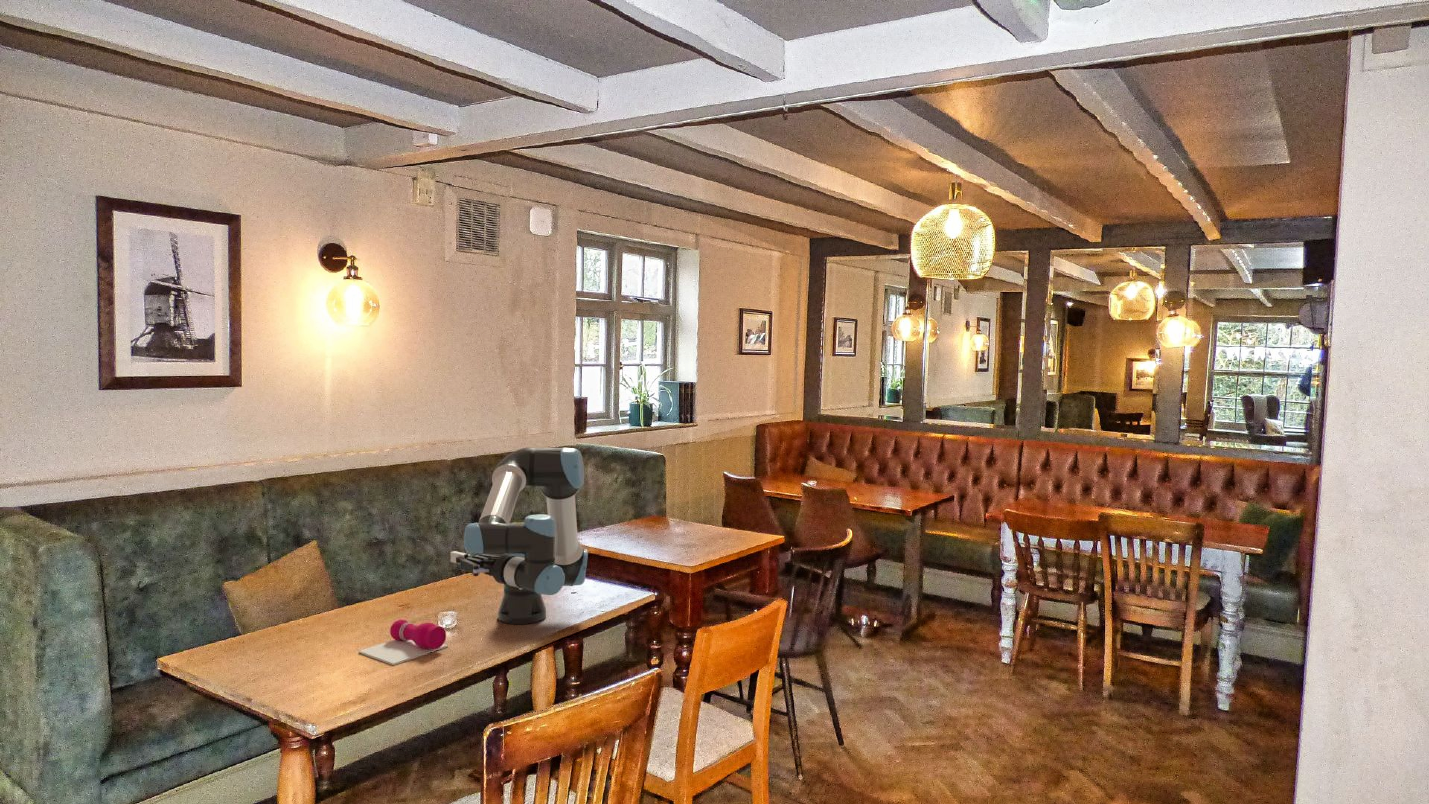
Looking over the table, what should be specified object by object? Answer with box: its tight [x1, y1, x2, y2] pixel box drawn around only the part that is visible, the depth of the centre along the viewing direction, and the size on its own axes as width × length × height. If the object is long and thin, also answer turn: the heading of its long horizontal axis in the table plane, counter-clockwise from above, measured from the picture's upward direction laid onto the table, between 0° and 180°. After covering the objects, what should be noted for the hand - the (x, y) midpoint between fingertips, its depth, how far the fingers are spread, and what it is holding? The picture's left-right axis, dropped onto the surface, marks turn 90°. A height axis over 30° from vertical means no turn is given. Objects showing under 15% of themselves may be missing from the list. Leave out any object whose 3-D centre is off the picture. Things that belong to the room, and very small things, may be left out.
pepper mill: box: [389, 619, 447, 649], centre depth 248 cm, size 7×7×20 cm
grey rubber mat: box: [358, 639, 448, 666], centre depth 244 cm, size 16×18×1 cm
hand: (452, 556), depth 234 cm, fingers closed
